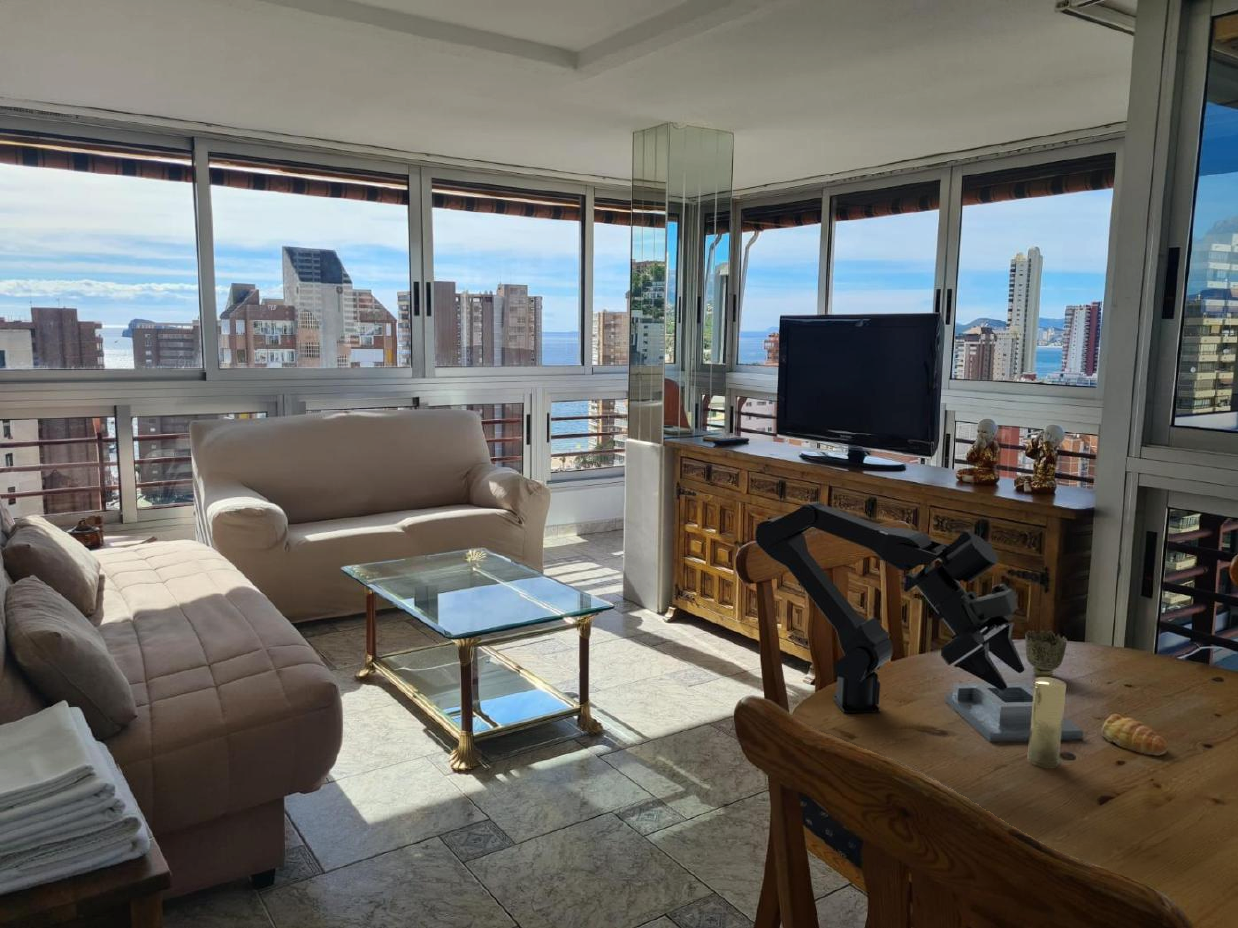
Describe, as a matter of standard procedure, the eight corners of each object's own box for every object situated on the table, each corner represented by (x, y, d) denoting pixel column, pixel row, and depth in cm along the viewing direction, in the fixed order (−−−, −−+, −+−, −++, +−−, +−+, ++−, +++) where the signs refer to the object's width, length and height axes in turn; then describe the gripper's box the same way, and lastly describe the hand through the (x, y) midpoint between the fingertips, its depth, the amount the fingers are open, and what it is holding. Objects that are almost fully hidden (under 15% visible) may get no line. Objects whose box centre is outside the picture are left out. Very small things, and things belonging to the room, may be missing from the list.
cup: (1055, 668, 180) (1059, 630, 179) (1069, 683, 173) (1073, 643, 171) (1016, 666, 181) (1019, 628, 179) (1029, 681, 173) (1032, 641, 172)
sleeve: (1037, 768, 139) (1044, 688, 137) (1021, 755, 143) (1029, 677, 141) (1064, 767, 139) (1072, 687, 137) (1048, 754, 144) (1055, 676, 142)
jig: (989, 741, 148) (991, 715, 147) (945, 701, 163) (947, 677, 163) (1082, 739, 149) (1084, 713, 149) (1029, 699, 165) (1031, 675, 164)
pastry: (1175, 751, 146) (1178, 729, 145) (1154, 762, 142) (1157, 739, 142) (1117, 729, 154) (1119, 708, 153) (1095, 739, 150) (1097, 717, 149)
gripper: (967, 583, 136) (1038, 671, 131) (1005, 559, 151) (1071, 638, 145) (912, 622, 143) (979, 707, 137) (954, 596, 157) (1015, 672, 152)
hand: (1013, 679), depth 143 cm, fingers open, 9 cm apart
